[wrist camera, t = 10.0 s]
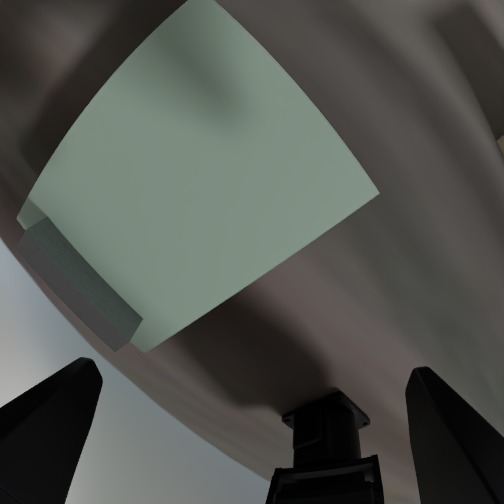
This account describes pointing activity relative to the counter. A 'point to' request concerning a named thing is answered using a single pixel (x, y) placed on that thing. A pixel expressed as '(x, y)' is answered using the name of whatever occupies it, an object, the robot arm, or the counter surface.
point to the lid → (185, 182)
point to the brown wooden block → (501, 144)
